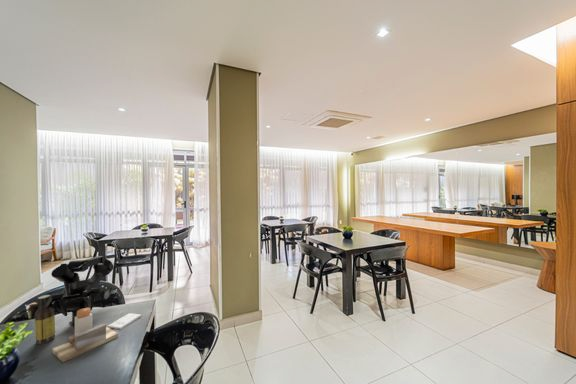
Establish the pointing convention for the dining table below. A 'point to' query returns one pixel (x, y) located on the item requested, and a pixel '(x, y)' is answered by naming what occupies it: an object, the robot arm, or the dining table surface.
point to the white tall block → (83, 320)
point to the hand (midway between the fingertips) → (79, 312)
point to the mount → (84, 342)
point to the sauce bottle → (44, 321)
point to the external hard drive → (124, 321)
